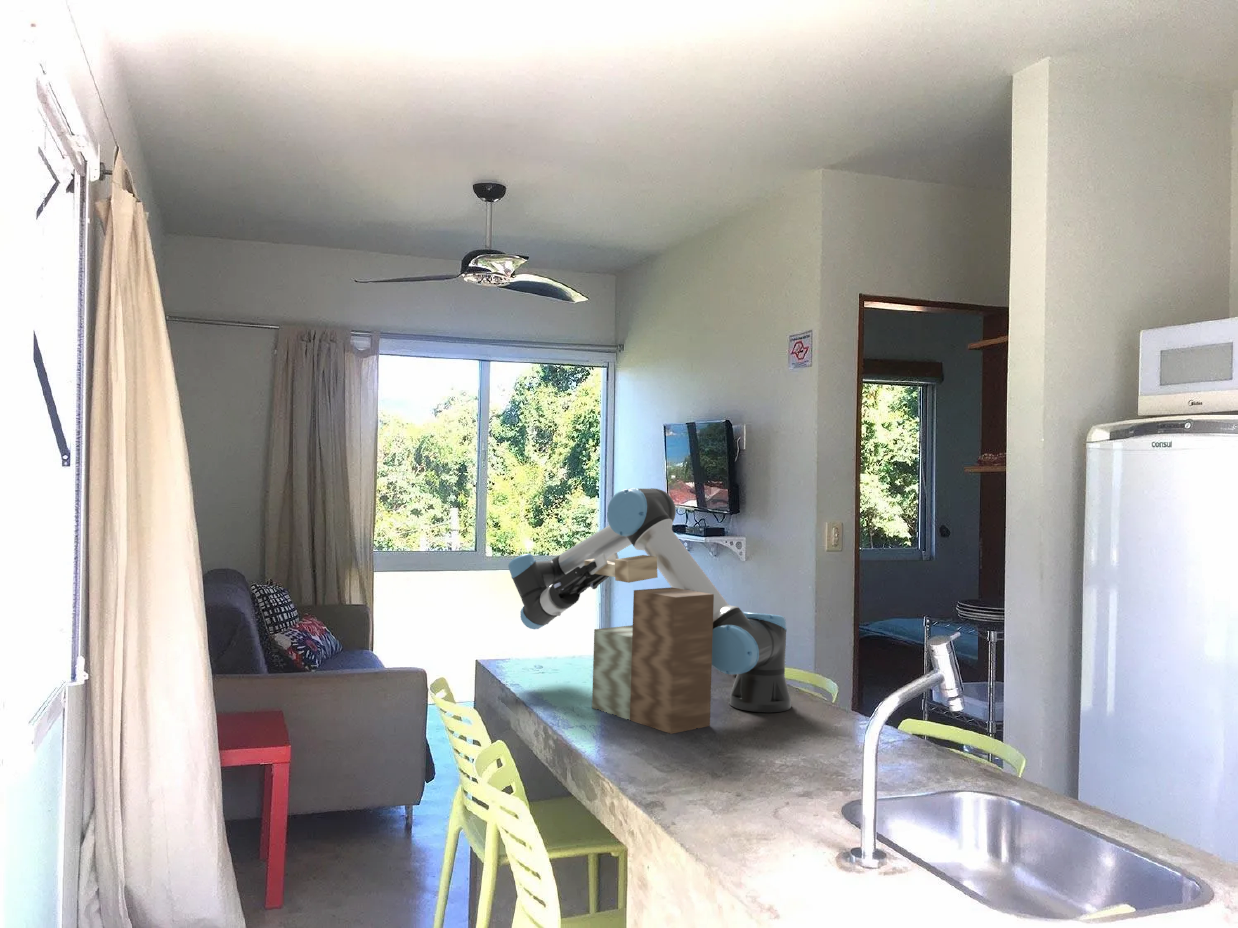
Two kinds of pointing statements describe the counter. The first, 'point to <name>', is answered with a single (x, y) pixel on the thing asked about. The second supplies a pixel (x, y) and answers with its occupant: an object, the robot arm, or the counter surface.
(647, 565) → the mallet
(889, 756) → the counter surface
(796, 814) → the counter surface
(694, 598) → the step stand
